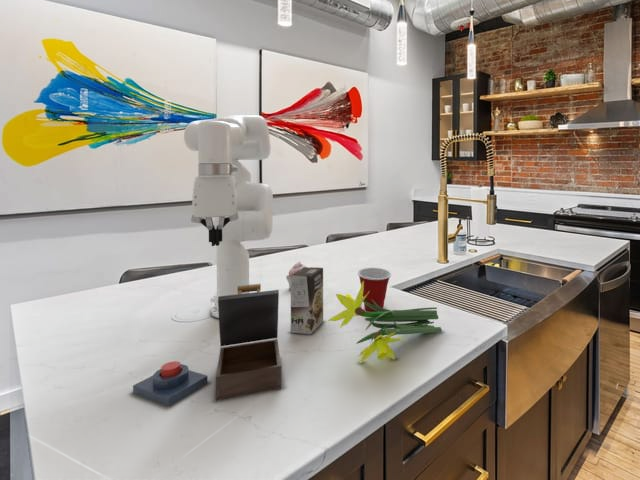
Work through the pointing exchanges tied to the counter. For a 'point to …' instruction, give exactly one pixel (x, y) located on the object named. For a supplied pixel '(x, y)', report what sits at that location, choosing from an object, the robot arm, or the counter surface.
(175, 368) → the red push button
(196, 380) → the blue button base
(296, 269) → the cupcake
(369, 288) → the plastic cup
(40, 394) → the counter surface
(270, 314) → the dark slab with handle
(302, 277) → the coffee box
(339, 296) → the daffodil flowers
